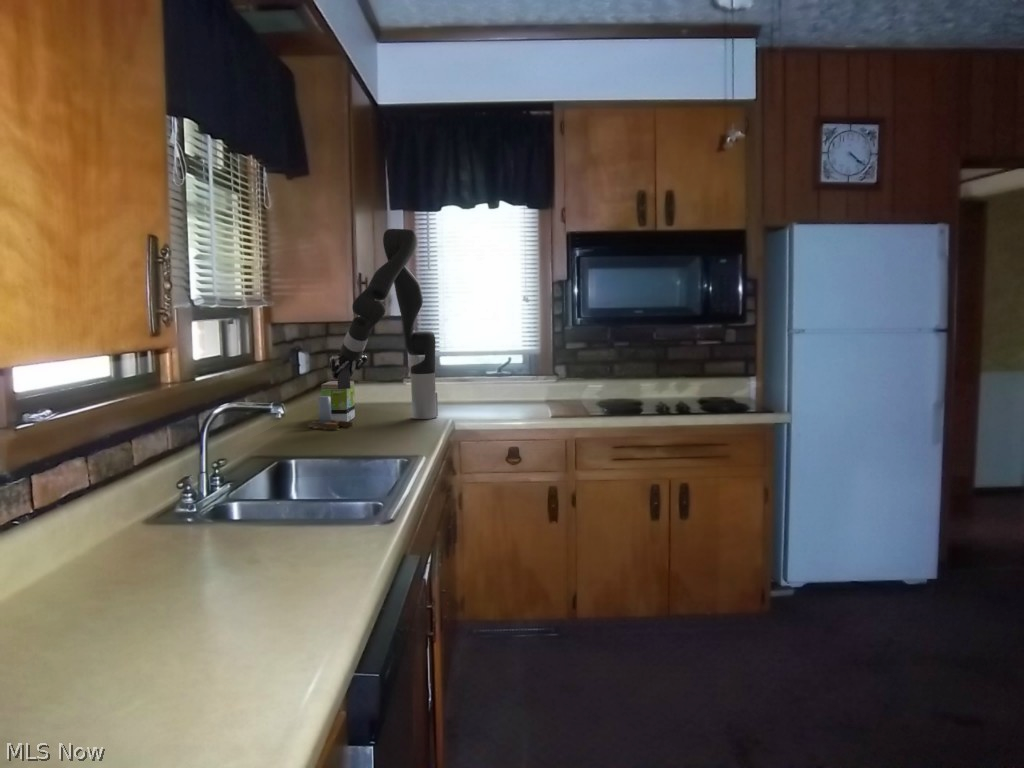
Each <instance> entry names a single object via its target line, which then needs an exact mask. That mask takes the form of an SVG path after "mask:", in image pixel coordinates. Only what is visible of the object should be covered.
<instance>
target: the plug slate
mask: <svg viewBox="0 0 1024 768" xmlns="http://www.w3.org/2000/svg"><path fill="white" fill-rule="evenodd" d="M317 402H318V404H317V405H318V406H317V407H318V421H319V422H324V423H329V422H332V419H331V396H321V395H320V396H317Z"/></svg>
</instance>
